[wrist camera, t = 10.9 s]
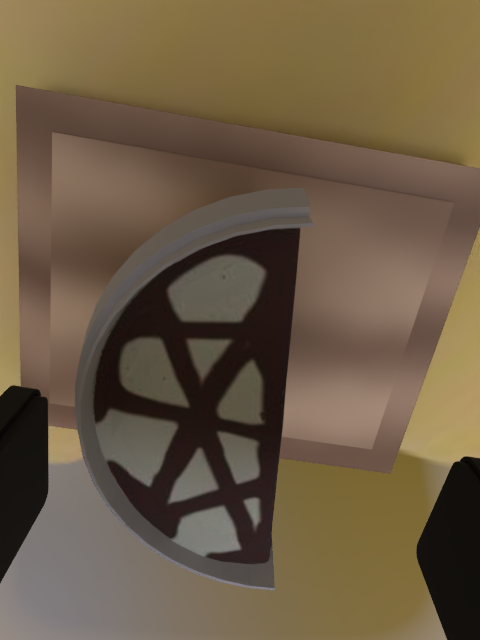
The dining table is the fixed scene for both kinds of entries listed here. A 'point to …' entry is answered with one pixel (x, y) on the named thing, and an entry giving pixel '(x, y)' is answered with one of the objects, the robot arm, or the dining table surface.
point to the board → (313, 258)
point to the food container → (196, 384)
